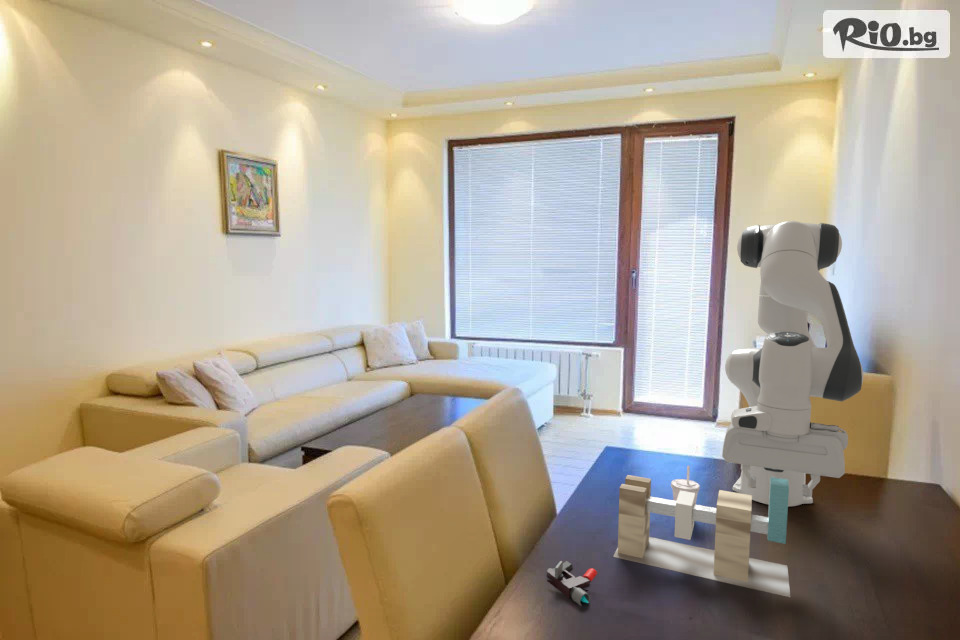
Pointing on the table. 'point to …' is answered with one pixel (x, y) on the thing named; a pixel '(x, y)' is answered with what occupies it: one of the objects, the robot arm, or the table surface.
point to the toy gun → (571, 581)
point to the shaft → (766, 525)
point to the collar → (684, 515)
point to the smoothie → (684, 486)
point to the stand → (712, 564)
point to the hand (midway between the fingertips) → (778, 491)
